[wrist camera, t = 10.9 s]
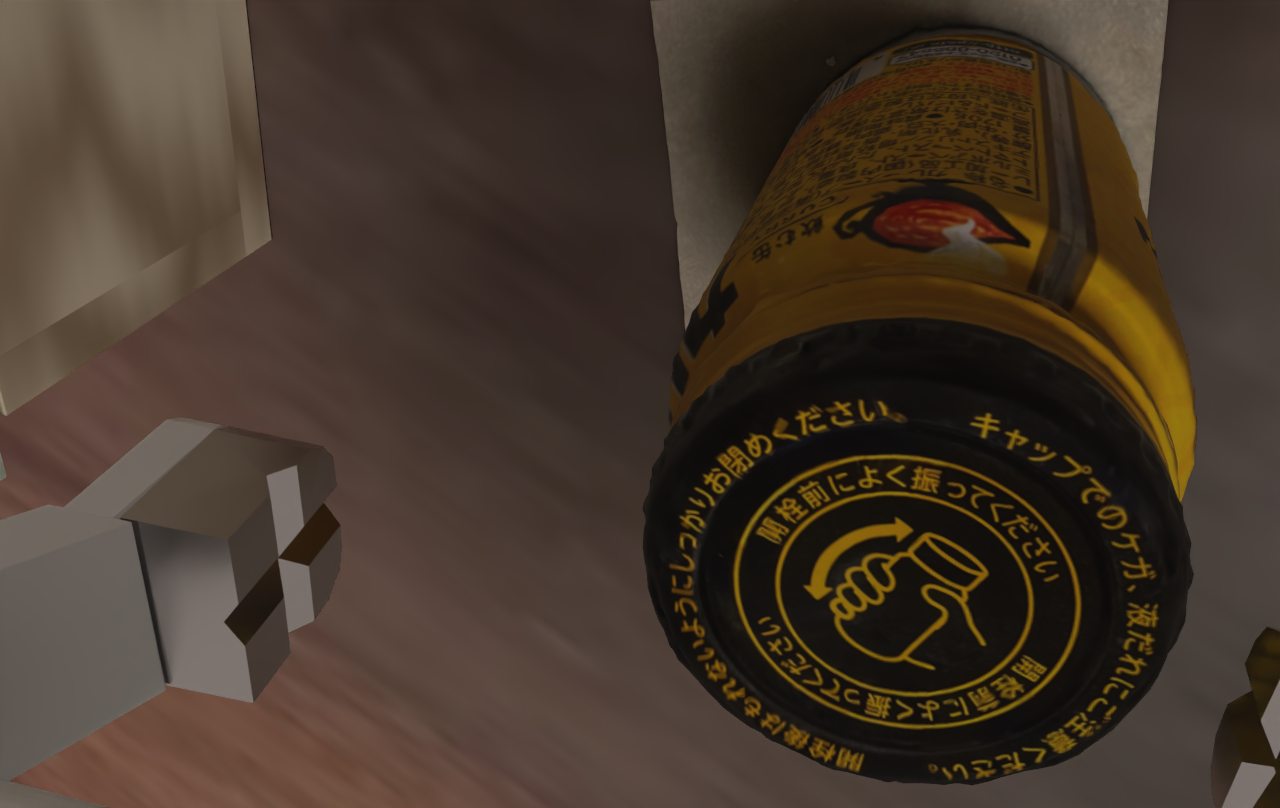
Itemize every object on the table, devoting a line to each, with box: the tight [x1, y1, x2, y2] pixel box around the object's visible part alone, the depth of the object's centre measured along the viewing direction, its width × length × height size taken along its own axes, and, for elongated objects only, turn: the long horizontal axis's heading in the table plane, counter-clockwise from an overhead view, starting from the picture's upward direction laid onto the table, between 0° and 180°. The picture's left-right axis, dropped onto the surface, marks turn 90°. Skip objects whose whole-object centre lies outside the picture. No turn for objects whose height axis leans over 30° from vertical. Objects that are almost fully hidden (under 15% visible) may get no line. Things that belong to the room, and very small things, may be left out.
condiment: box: [643, 0, 1197, 785], centre depth 16 cm, size 7×8×12 cm
